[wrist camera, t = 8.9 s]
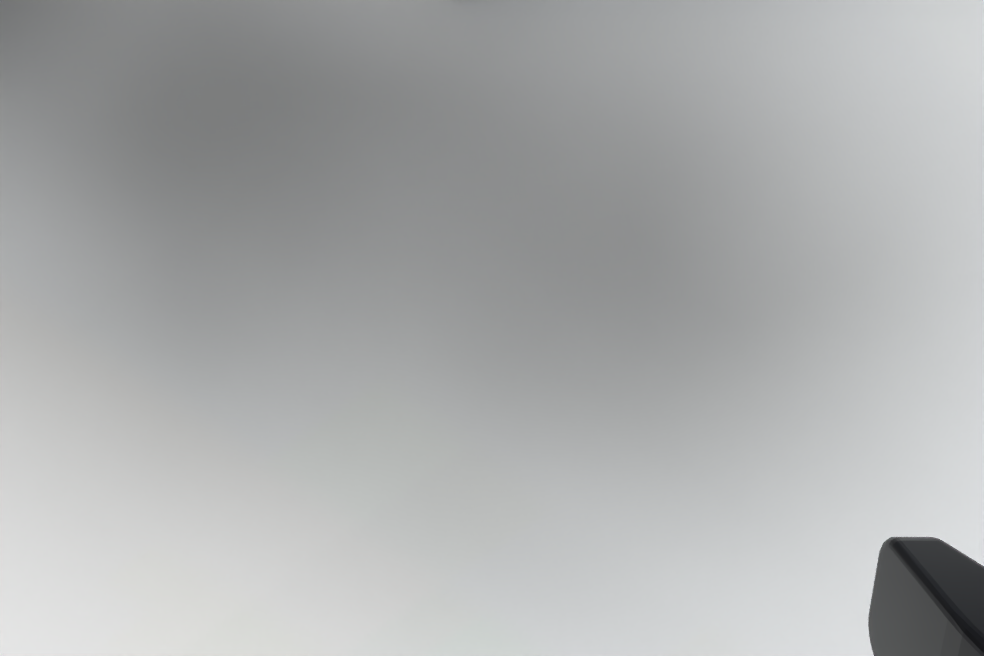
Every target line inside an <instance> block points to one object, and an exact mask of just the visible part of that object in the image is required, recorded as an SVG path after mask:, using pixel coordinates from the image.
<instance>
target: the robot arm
mask: <svg viewBox="0 0 984 656" xmlns="http://www.w3.org/2000/svg"><path fill="white" fill-rule="evenodd" d="M868 626H869V636H870V642H871V646H872V650H873V654H874V656H984V566H982V565H981V564H979V563H977V562H976V561H974V560H973V559H971V558H969V557H968V556H966V555H965V554H963V553H961V552H960V551H958V550H957V549H955V548H953V547H952V546H950V545H949V544H947V543H945V542H944V541H942V540H940V539H937V538H933V537H891V538H889V539H888V540H886V541H885V542H884V543H883V545H882V547H881V549H880V553H879V557H878V563H877V569H876V575H875V581H874V587H873V593H872V599H871V605H870V611H869V622H868Z"/></svg>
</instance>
